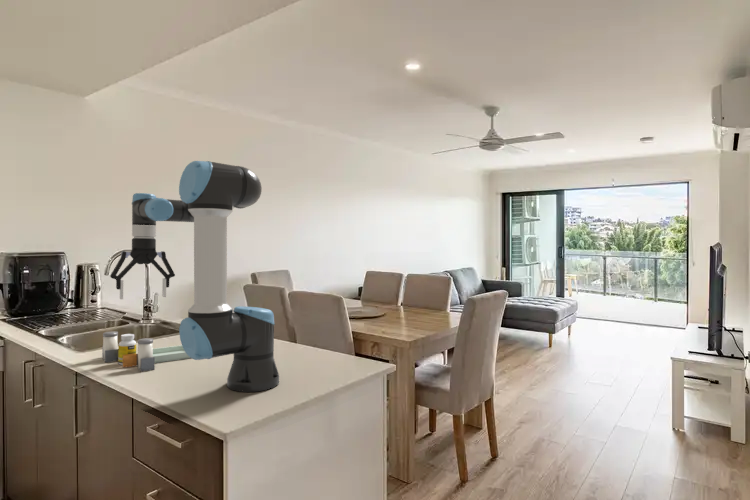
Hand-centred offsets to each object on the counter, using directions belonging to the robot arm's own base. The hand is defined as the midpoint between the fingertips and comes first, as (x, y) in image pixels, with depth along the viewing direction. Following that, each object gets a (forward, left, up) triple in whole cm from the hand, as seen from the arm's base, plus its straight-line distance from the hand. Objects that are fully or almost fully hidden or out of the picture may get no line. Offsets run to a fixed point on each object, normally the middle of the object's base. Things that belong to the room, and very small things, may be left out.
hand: (143, 297), depth 161 cm
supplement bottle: (-2, +5, -22) cm, 23 cm away
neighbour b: (+7, +9, -22) cm, 25 cm away
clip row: (-2, +5, -22) cm, 23 cm away
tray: (-1, -9, -22) cm, 24 cm away
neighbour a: (-11, +1, -22) cm, 25 cm away
